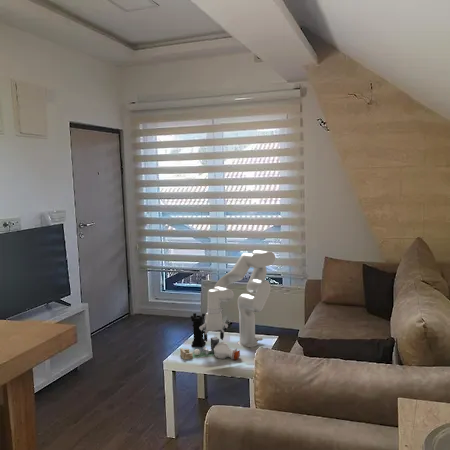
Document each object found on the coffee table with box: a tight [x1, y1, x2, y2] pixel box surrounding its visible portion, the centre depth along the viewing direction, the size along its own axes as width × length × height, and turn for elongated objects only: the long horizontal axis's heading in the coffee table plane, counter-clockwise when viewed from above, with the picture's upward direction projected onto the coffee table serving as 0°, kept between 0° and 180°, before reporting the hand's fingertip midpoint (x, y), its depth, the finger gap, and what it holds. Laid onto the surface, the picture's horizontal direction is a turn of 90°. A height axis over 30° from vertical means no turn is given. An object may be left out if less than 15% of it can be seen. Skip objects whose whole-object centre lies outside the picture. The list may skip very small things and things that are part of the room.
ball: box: [193, 348, 201, 355], centre depth 271 cm, size 4×4×4 cm
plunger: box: [202, 336, 220, 355], centre depth 274 cm, size 8×5×8 cm, turn 110°
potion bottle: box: [214, 341, 241, 361], centre depth 267 cm, size 9×10×15 cm
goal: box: [179, 347, 194, 361], centre depth 269 cm, size 5×8×4 cm, turn 20°
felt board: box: [179, 351, 215, 361], centre depth 272 cm, size 24×8×1 cm, turn 110°
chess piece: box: [190, 312, 207, 348], centre depth 288 cm, size 8×8×20 cm
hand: (213, 340), depth 274 cm, fingers open, 9 cm apart
